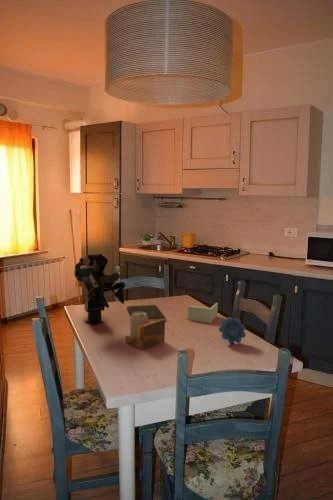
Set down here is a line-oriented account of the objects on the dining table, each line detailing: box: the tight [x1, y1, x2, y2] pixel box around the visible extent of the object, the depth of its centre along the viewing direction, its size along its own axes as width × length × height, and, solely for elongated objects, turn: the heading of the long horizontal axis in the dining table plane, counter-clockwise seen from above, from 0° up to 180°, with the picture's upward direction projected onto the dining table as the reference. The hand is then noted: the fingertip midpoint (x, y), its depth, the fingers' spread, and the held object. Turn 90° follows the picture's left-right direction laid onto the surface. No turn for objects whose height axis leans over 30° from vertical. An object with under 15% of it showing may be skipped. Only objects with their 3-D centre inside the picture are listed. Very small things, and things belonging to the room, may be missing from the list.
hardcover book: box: [126, 304, 166, 323], centre depth 212 cm, size 16×23×2 cm
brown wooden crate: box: [124, 318, 166, 351], centre depth 174 cm, size 11×12×10 cm
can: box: [129, 312, 149, 339], centre depth 176 cm, size 8×8×12 cm
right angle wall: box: [187, 302, 219, 324], centre depth 209 cm, size 12×12×8 cm
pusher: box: [138, 321, 155, 340], centre depth 173 cm, size 1×9×8 cm, turn 139°
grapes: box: [218, 316, 246, 344], centre depth 173 cm, size 12×7×12 cm, turn 96°
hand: (116, 305), depth 184 cm, fingers open, 9 cm apart
